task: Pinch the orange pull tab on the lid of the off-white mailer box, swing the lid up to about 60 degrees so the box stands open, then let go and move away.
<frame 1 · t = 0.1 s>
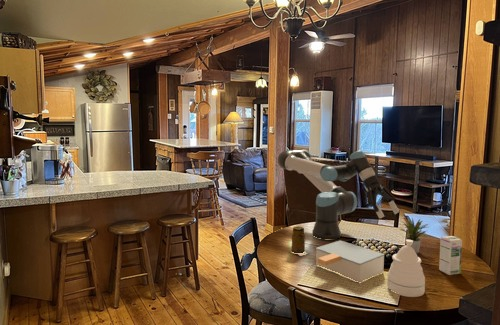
hand: (389, 215, 184), 15 cm above the table, tool tilted 35°, fingers open, 13 cm apart
mailer box: (348, 269, 155), on the table
honey pot: (405, 289, 138), on the table
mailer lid: (342, 254, 152), point 8 cm above the table, hinge at 0.0°
house plant: (413, 252, 176), on the table
syrup box: (449, 272, 153), on the table
condiment: (299, 253, 175), on the table
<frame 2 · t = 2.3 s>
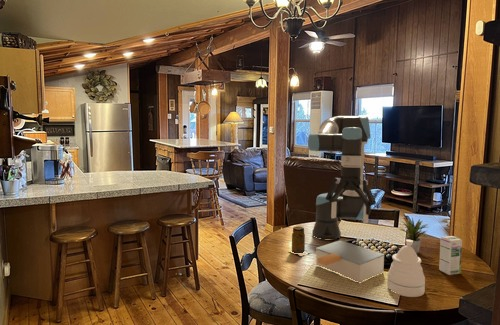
hand: (349, 220, 147), 23 cm above the table, tool pointing down, fingers open, 13 cm apart
nothing on the table moved.
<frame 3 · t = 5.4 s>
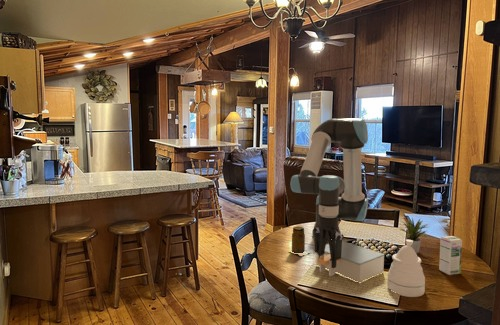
hand: (327, 273, 147), 2 cm above the table, tool pointing down, fingers closed on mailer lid, 4 cm apart
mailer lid: (342, 254, 152), point 8 cm above the table, hinge at 0.0°, touching gripper
everything else where it was.
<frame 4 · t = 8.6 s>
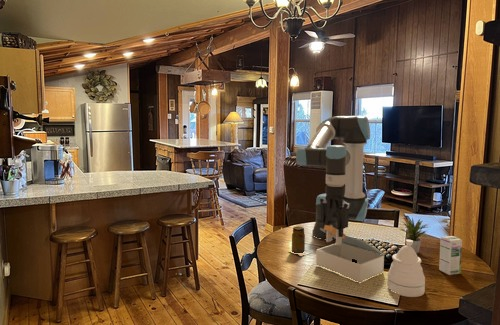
hand: (333, 242, 148), 14 cm above the table, tool pointing down, fingers closed on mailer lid, 4 cm apart
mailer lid: (345, 238, 152), point 14 cm above the table, hinge at 30.6°, touching gripper
everything else where it was.
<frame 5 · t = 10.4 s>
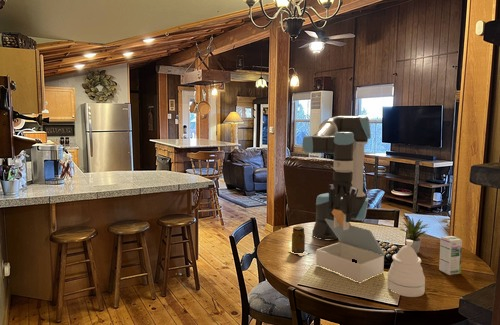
hand: (341, 228, 150), 19 cm above the table, tool pointing down, fingers closed on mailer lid, 4 cm apart
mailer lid: (349, 230, 153), point 17 cm above the table, hinge at 47.6°, touching gripper
everything else where it was.
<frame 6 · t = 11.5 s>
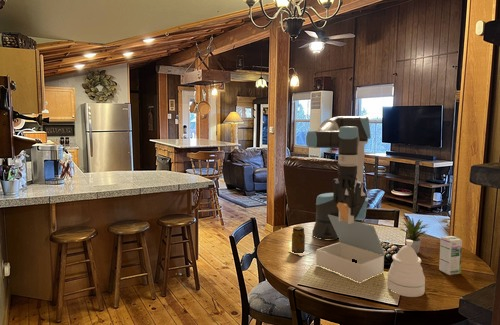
hand: (345, 221, 151), 21 cm above the table, tool pointing down, fingers closed on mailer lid, 4 cm apart
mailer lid: (351, 227, 154), point 18 cm above the table, hinge at 56.5°, touching gripper
everything else where it was.
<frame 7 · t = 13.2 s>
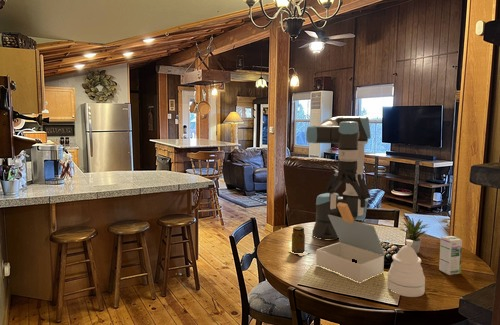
hand: (346, 211, 151), 25 cm above the table, tool pointing down, fingers open, 13 cm apart
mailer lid: (351, 227, 154), point 18 cm above the table, hinge at 56.6°
everything else where it was.
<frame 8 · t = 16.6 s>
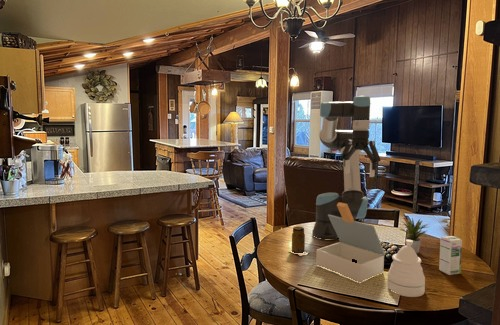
hand: (359, 175, 174), 37 cm above the table, tool pointing down, fingers open, 13 cm apart
nothing on the table moved.
at the end: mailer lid at +57° (first picture: +0°); the gripper is holding nothing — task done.
